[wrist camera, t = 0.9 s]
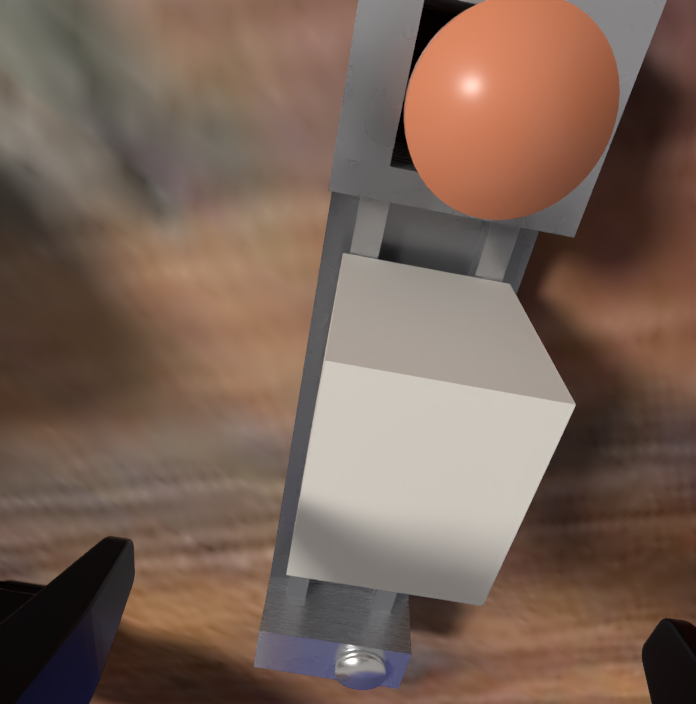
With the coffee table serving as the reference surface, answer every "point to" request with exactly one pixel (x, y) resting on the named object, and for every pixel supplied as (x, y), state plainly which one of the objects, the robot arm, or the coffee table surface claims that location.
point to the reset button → (511, 106)
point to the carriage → (424, 433)
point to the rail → (410, 249)
